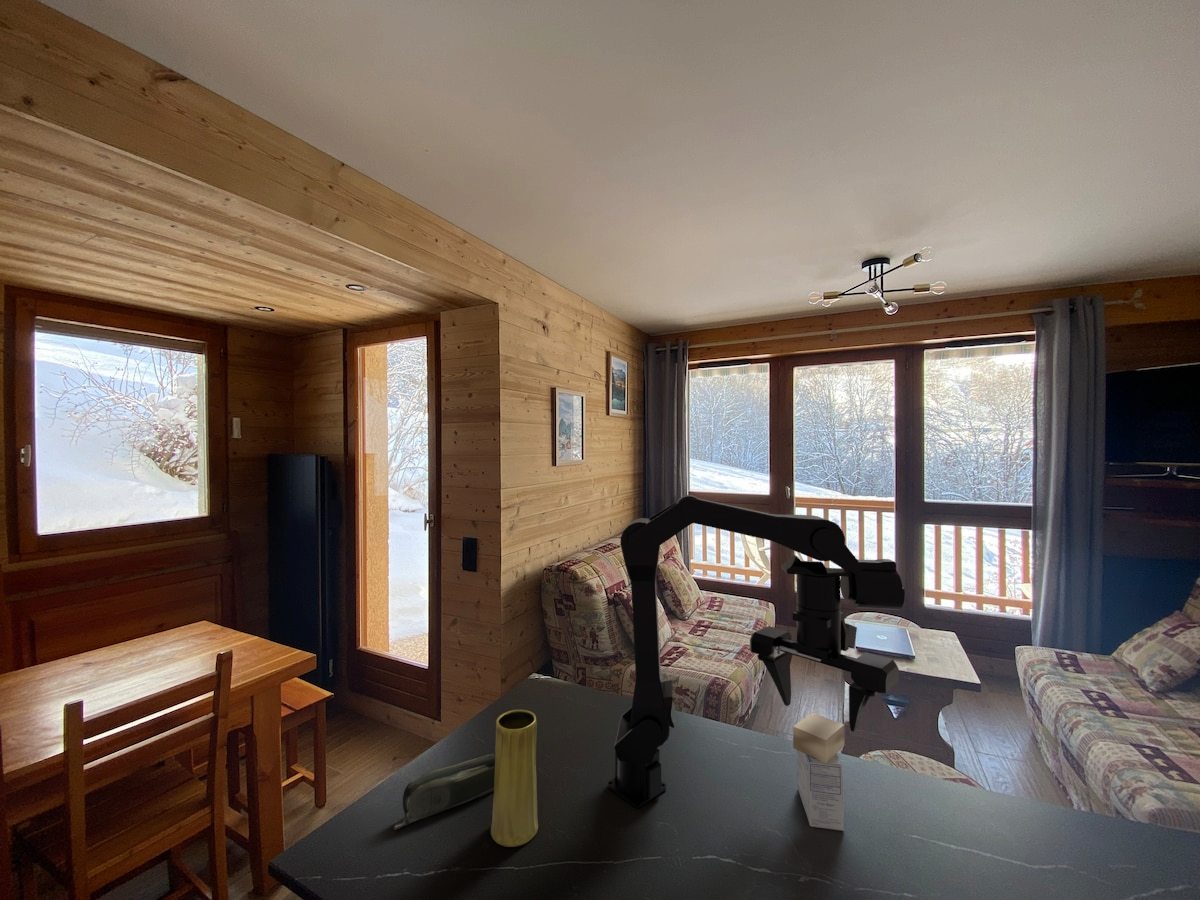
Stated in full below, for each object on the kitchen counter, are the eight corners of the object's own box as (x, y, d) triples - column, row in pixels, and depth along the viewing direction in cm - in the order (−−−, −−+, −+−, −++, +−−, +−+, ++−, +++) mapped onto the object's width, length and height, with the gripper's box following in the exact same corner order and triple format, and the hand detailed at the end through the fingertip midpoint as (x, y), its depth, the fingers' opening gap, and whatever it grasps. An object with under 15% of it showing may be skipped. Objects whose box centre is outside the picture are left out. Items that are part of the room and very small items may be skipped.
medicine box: (844, 833, 63) (844, 765, 63) (808, 827, 64) (808, 761, 64) (828, 793, 71) (828, 733, 71) (796, 789, 72) (796, 729, 72)
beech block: (793, 748, 67) (793, 726, 68) (812, 732, 71) (812, 712, 71) (825, 763, 64) (825, 740, 64) (844, 746, 68) (844, 724, 68)
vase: (545, 819, 65) (547, 712, 65) (524, 854, 59) (526, 735, 60) (506, 808, 67) (507, 704, 67) (481, 840, 61) (483, 726, 62)
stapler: (494, 747, 74) (391, 783, 64) (503, 756, 71) (397, 795, 62) (493, 780, 73) (389, 821, 64) (502, 791, 71) (395, 835, 62)
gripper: (910, 609, 67) (912, 723, 66) (782, 584, 81) (783, 678, 80) (883, 626, 59) (885, 755, 59) (747, 596, 73) (747, 700, 73)
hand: (819, 717), depth 68 cm, fingers open, 9 cm apart
